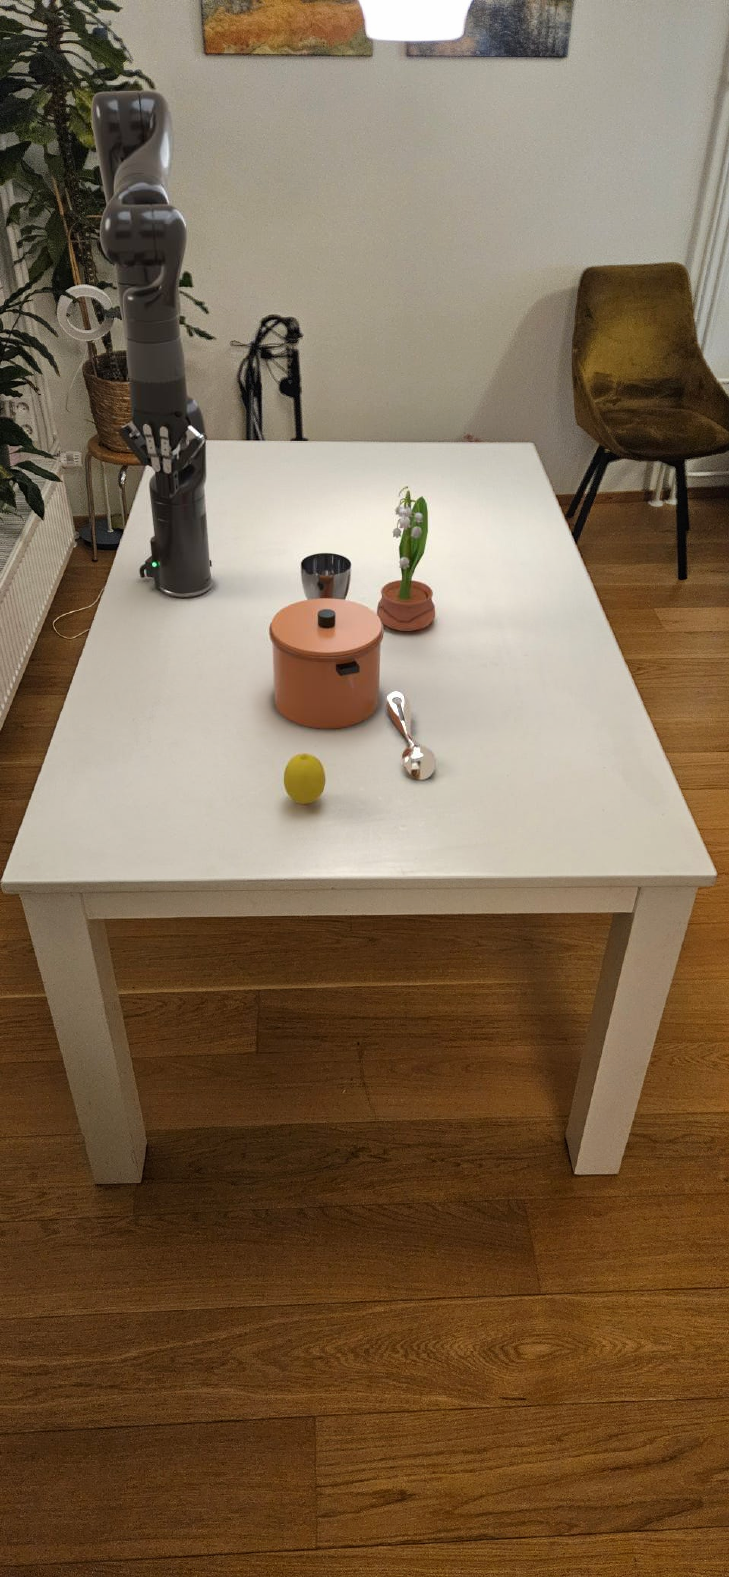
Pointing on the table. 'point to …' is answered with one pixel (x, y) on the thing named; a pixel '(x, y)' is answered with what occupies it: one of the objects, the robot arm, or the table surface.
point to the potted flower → (408, 573)
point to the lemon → (304, 778)
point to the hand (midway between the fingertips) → (168, 495)
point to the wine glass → (326, 576)
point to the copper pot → (326, 662)
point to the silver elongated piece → (411, 741)
